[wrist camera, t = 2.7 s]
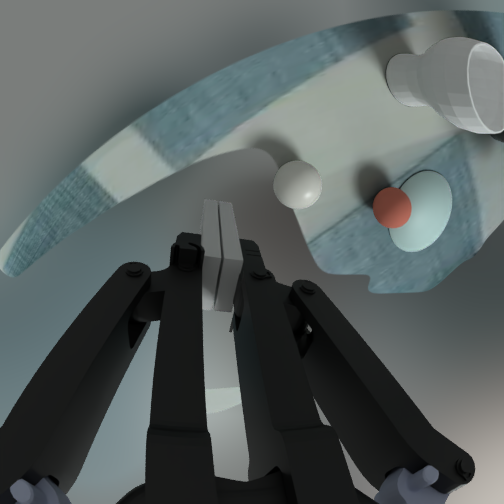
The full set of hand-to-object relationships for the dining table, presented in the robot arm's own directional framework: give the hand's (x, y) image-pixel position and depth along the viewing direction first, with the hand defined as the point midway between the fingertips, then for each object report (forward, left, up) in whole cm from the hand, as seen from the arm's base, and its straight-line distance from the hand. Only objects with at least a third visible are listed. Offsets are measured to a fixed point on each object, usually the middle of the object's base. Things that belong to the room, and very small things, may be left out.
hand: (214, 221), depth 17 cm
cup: (-27, +9, -17) cm, 33 cm away
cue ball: (-5, +8, -14) cm, 17 cm away
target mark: (-17, +27, -16) cm, 36 cm away
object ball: (-13, +20, -14) cm, 27 cm away
